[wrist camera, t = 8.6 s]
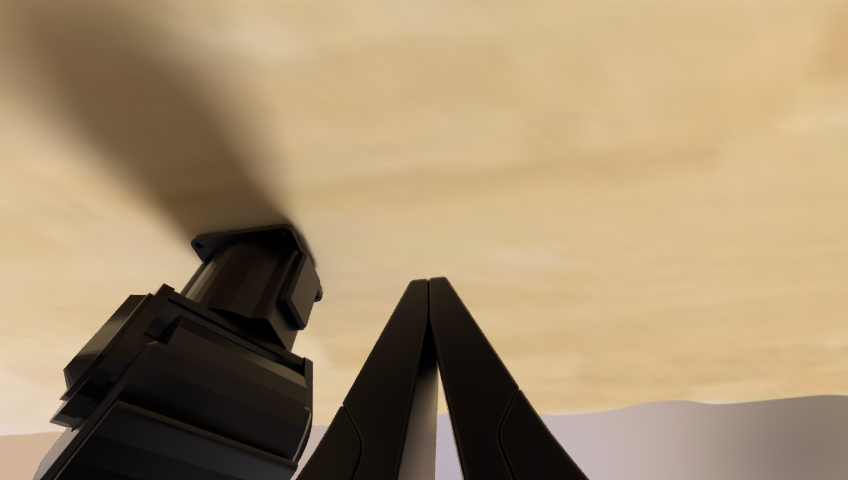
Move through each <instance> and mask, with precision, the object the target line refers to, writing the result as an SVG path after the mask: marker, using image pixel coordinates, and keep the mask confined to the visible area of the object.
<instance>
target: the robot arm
mask: <svg viewBox="0 0 848 480" xmlns="http://www.w3.org/2000/svg"><path fill="white" fill-rule="evenodd" d="M283 231H286V232H288V233H289V234H286V233H284V232H283ZM199 242H200V243H202V244H203V245H202V244H200V243H199ZM191 245H192V247H193V249H194V250H195V252H196V253H197V254H198V256H199V257H200V259H201V260H202V262H203V263H202V264H201V266H200V267H199V268H198V270H197V271H196V272H195V274H194V275H193V276H192V278H191V279H190V280H189V282H188V283H187V285H186V286H185V287H184V289H183V290H182V291H181V293H180V294H179V293H177V292H175V291H174V290H175V289H174V288H172V287H170V286H168V285H166V284H163V285H162V286H161V287H160V288H159V289H158V290H157V291H156V292H155V293H154V294H151V293H149V294H147V295H130V296H129V297H128V298H127V299H126V301H125V302H124V303H123V304H122V305H121V306H120V307H119V308H118V310H117V311H116V312H115V313H114V314H113V315H112V316H111V317H110V319H109V320H108V321H107V322H106V323H105V324H104V325H103V326H102V327H101V328H100V330H99V331H98V332H97V333H96V334H95V335H94V336H93V337H92V338H91V340H90V341H89V342H88V343H87V344H86V345H85V346H84V347H83V348H82V349H81V351H80V352H79V353H78V354H77V355H76V356H75V357H74V358H73V359H72V361H71V362H70V363H69V364H68V365H67V366H66V367H65V368H64V370H63V371H64V376H65V381H66V386H67V390H66V391H65V393H64V394H63V395H62V396H61V398H60V400H63V401H64V402H63V403H62V405H61V406H60V407H59V409H58V410H57V411H56V413H55V414H54V415H53V417H52V418H51V420H50V421H49V422H51V423H54V424H57V425H60V426H64V427H68V428H67V429H66V430H65V432H64V433H63V434H62V435H61V437H60V438H59V439H58V440H57V442H56V443H55V444H54V445H53V447H52V448H51V449H50V451H49V452H48V453H47V454H46V456H45V457H44V458H43V460H42V462H41V463H40V465H39V468H38V470H37V472H36V474H35V476H34V478H33V480H290V479H291V478H292V476H293V475H294V473H295V472H296V470H297V467H298V462H299V460H300V458H301V456H302V454H303V452H304V450H305V447H306V445H307V442H308V439H309V436H310V432H311V428H312V417H313V361H311V360H309V359H307V358H305V357H304V358H301V357H300V356H298V355H296V354H294V353H292V352H291V351H292V348H293V345H294V342H295V339H296V336H297V332H298V330H304V328H305V327H306V326H307V323H308V319H309V316H310V313H311V310H312V307H313V303H314V302H318V301H320V300H321V299H322V295H323V292H322V289H321V287H320V285H319V284H320V280H319V277H318V275H317V273H316V271H315V268H314V266H313V264H312V262H311V259H310V257H309V255H308V254H307V253H306V252H305V251H304V249H303V247H302V245H301V243H300V240H299V238H298V236H297V234H296V231H295V229H294V228H293V227H292V226H291V225H288V224H280V225H273V226H265V227H257V228H250V229H242V230H235V231H227V232H219V233H212V234H204V235H198V236H196V237H195V238H194V239H193V240H192V241H191ZM438 366H439V371H440V376H441V381H442V386H443V391H444V395H445V400H446V405H447V410H448V414H449V419H450V424H451V428H452V433H453V437H454V442H455V447H456V452H457V457H458V462H459V466H460V471H461V476H462V480H589V479H588V478H587V476H586V475H585V474H584V473H583V472H582V470H581V469H580V468H579V467H578V466H577V464H576V463H575V462H574V461H573V460H572V459H571V457H570V456H569V455H568V453H567V452H566V451H565V450H564V448H563V447H562V446H561V445H560V443H559V442H558V441H557V440H556V438H555V437H554V436H553V435H552V434H551V432H550V431H549V429H548V428H547V426H546V425H545V424H544V423H543V421H542V419H541V418H540V417H539V415H538V414H537V412H536V411H535V409H534V408H533V407H532V405H531V404H530V402H529V401H528V399H527V398H526V396H525V395H524V393H523V392H522V390H519V386H518V384H517V383H516V381H515V380H514V378H513V377H512V375H511V374H510V372H509V371H508V369H507V368H506V366H505V365H504V363H503V362H502V360H501V359H500V357H499V356H498V354H497V353H496V351H495V350H494V348H493V347H492V345H491V344H490V342H489V341H488V339H487V338H486V336H485V335H484V333H483V332H482V330H481V329H480V327H479V326H478V324H477V323H476V321H475V320H474V318H473V317H472V315H471V314H470V312H469V311H468V309H467V308H466V306H465V305H464V303H463V302H462V300H461V299H460V297H459V296H458V294H457V293H456V291H455V290H454V288H453V287H452V285H451V284H450V282H449V281H448V279H447V278H446V277H435V278H430V279H429V281H428V280H427V279H418V280H412V281H411V282H410V283H409V285H408V287H407V289H406V290H405V292H404V294H403V296H402V297H401V299H400V301H399V303H398V305H397V306H396V308H395V310H394V312H393V314H392V315H391V317H390V319H389V321H388V323H387V324H386V326H385V328H384V330H383V331H382V333H381V335H380V337H379V339H378V340H377V342H376V344H375V346H374V348H373V349H372V351H371V353H370V355H369V357H368V358H367V360H366V362H365V364H364V365H363V367H362V369H361V371H360V373H359V374H358V376H357V378H356V380H355V382H354V383H353V385H352V387H351V389H350V391H349V392H348V394H347V396H346V398H345V399H344V401H343V406H341V407H340V408H339V410H338V412H337V413H336V415H335V417H334V419H333V421H332V422H331V424H330V426H329V428H328V430H327V431H326V433H325V434H324V436H323V438H322V440H321V441H320V443H319V444H318V446H317V448H316V450H315V451H314V453H313V454H312V456H311V457H310V459H309V460H308V462H307V464H306V465H305V466H304V468H303V469H302V471H301V473H300V474H299V475H298V477H297V479H296V480H435V457H436V430H437V403H438Z"/></svg>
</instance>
